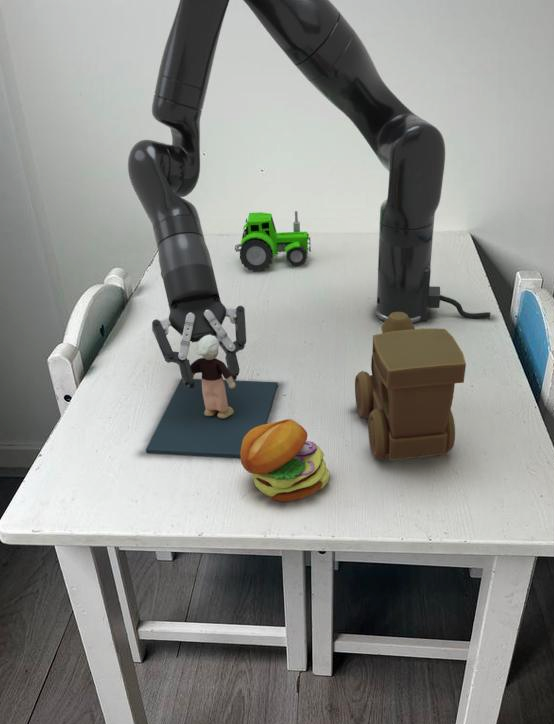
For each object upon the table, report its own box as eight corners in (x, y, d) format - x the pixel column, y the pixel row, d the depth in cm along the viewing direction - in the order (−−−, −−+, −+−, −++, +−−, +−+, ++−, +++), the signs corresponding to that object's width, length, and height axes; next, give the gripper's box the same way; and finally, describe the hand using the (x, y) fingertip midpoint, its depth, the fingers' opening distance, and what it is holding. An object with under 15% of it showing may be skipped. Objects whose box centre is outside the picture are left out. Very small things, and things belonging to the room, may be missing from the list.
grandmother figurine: (242, 406, 113) (236, 331, 105) (236, 420, 110) (230, 344, 102) (194, 403, 114) (184, 328, 106) (187, 416, 111) (176, 341, 103)
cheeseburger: (325, 510, 94) (304, 447, 88) (248, 517, 98) (222, 458, 92) (336, 462, 102) (317, 401, 96) (264, 470, 105) (242, 412, 100)
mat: (277, 385, 119) (277, 381, 119) (255, 458, 104) (255, 455, 103) (181, 381, 122) (181, 378, 121) (146, 453, 106) (145, 449, 106)
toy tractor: (311, 270, 155) (310, 222, 149) (234, 273, 156) (229, 225, 150) (310, 250, 164) (309, 204, 158) (237, 253, 164) (233, 207, 158)
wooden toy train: (460, 470, 100) (474, 361, 89) (376, 479, 99) (381, 370, 89) (422, 393, 115) (431, 292, 105) (350, 400, 115) (351, 300, 104)
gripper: (138, 270, 104) (164, 385, 102) (238, 254, 106) (264, 366, 105) (139, 290, 111) (163, 398, 109) (232, 276, 114) (257, 381, 112)
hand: (213, 382), depth 107 cm, fingers closed on grandmother figurine, 5 cm apart
